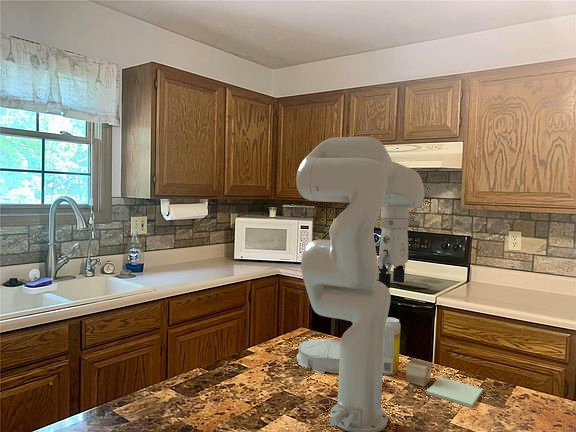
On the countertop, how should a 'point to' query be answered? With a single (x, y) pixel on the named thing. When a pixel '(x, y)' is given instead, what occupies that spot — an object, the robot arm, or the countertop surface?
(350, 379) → the robot arm
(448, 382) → the sage mat
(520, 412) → the countertop surface
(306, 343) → the food container
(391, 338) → the beer can
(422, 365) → the maple block
